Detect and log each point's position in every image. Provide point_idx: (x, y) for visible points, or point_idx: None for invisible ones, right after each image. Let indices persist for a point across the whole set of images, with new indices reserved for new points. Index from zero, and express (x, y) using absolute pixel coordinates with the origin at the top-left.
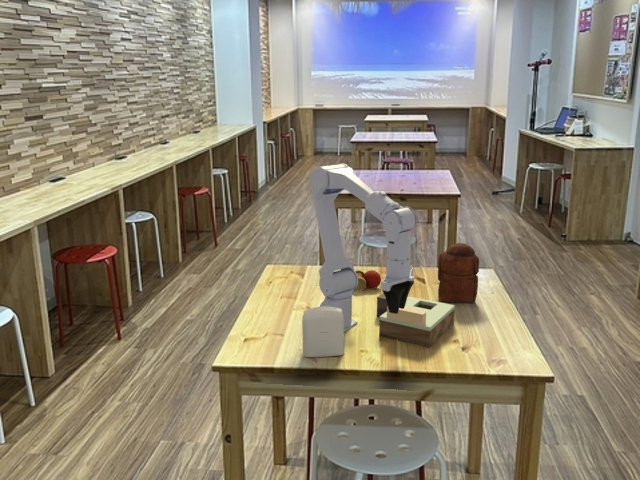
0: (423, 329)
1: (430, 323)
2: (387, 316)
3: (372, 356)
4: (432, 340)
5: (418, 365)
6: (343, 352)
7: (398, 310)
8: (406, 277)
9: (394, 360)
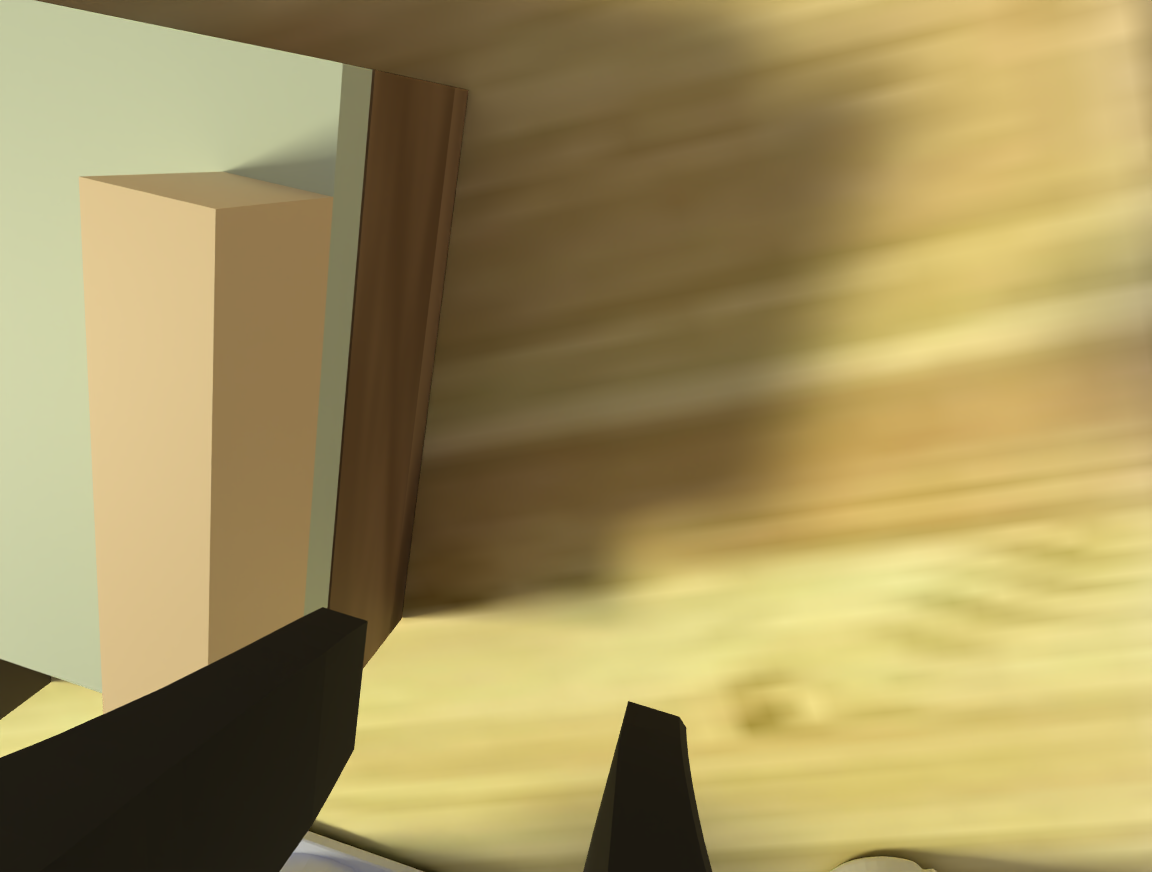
0: (360, 179)
1: (203, 93)
2: None
3: (863, 621)
4: None
5: (985, 111)
6: (902, 870)
7: (631, 734)
8: None
9: (907, 404)
